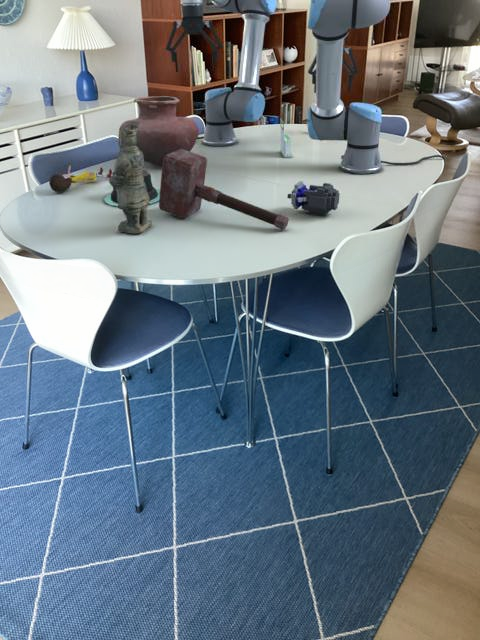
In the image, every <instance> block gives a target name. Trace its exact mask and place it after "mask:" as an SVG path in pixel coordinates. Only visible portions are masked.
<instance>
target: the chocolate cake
mask: <svg viewBox="0 0 480 640" xmlns="http://www.w3.org/2000/svg"><path fill="white" fill-rule="evenodd" d="M113 175H114V171H112V175H111V176H113ZM143 178H144V182H145V184H146V188H147V192H148V195H149V197H150V204H154V203H157V202H159V198H160V188H156V187H154V185H153V182H152V174H151V172H149V171H148V170H146V169H144V168H143ZM103 200H104V202H105V203H106V204H108V205H109V206H115V207H118V202H117V192H116V189H115V188H114V187H112V191H111V193H108V194H107V195H106V196H104V198H103ZM150 204H149V205H150Z"/></svg>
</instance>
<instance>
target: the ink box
mask: <svg viewBox="0 0 480 640" xmlns="http://www.w3.org/2000/svg"><path fill="white" fill-rule="evenodd" d="M279 120H280V122H279V123H280V153H281V155H282V156H283V158H291V157H292V140H291V137H289V134H285V123H284V121H283V120H282V118H280V119H279Z"/></svg>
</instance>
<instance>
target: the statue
mask: <svg viewBox="0 0 480 640" xmlns="http://www.w3.org/2000/svg"><path fill="white" fill-rule="evenodd" d="M138 127H139V123H138V122H137V121H133V122H131V123H128V124H127V125H126V126H125V127H124V128H123V129H121V130H120V133H119V132H118V139H117V141H118V146H119V152H118V154H117V156H116V160H115V164H114V169H113V172H114V175H113V176H112V175H111V178H108V179H109V180H108V183H109V184H110V186H111V187H112V188H113V187H114V188H115V189H116V192H117V202H118V206H117V209H119V210H122V213H123V214H124V215H125V218H126V219H125V220H122V221H120V222H119V224H118V225H117V231H118V232H121V233H126V234H134V235H136V234H142V233H143V232H145V231H146V230H147V229H148V228H150V227H151V226H152V225H153V223H152V220H150V219H148V216H147V214H148V213H147V212H148V211H147V209H148V206H149V205H150V197H149V195H148V192H147V188H146V184H145V182H144V178H143V169H144V165H145V161H144V156H143V153H142V151H141V150H139V149H138V147H137V146H136V143H137V138H136V131H137V130H138Z"/></svg>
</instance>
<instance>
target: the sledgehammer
mask: <svg viewBox="0 0 480 640" xmlns="http://www.w3.org/2000/svg"><path fill="white" fill-rule="evenodd" d="M207 164H208V159H207V158H206V157H205V156H203V155H200V154H197V153H195V152H193V151H187V150H184V149H179V150H177V151H174V152H172V153H170V154H167V155H165V156H164V158H163V165H161V166H162V167H161V176H160V187H159V190H160V198H159V200H158V208H159V210H160V211H162V212H165V213H168V214H170V215H173V216H174V217H177V218H180V219H182V220H185V219H187V218H188V217H190V216H192V215H193V214H195V213H197V212H198V211H199V210H200V209H201V207H202V201H203V200H204V201H207V202H209V203H213V204H215V205H220V206H223V207H225V208H228V209H231V210H233V211H236V212H239V213H241V214H243V215H245V216H248V217H252V218H255V219H257V220H260V221H262V222H264V223H267V224H270V225H273V226H274V228H276V229H280V230H282V231H285V230H286V228H287V227H288V224H289V221H290V218H289V217H288V216H286V215H283V214H281V213H279V214H277V213H275V212H273V211H269V210H267V209H265V208H262V207H259V206H256V205H254V204H251V203H248V202H246V201H244V200H242V199H238V198H236V197H233V196H231V195H228V194H225V193H223V192H222V191H220V190H218V189H215V188H214V187H211V186H208V185H205V181H206V175H207Z"/></svg>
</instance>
